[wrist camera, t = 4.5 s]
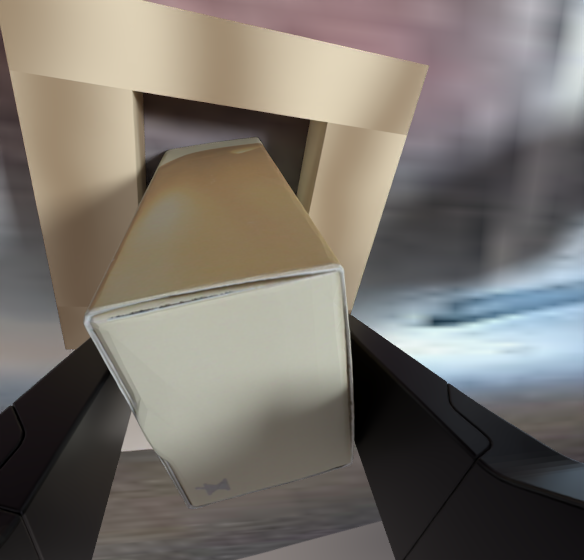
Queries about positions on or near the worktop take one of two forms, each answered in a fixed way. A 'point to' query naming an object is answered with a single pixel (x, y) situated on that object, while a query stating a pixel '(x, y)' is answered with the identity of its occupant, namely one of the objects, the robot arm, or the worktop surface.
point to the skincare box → (228, 326)
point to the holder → (199, 87)
